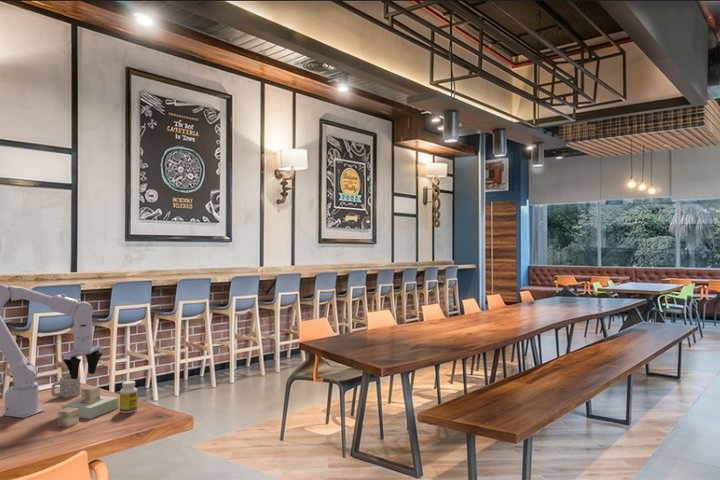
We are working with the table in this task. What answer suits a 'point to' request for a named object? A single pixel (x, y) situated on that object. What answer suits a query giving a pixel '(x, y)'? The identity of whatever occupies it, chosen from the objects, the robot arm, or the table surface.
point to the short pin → (68, 417)
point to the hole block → (93, 406)
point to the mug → (67, 387)
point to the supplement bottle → (128, 397)
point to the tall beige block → (90, 394)
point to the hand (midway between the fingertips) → (83, 376)
